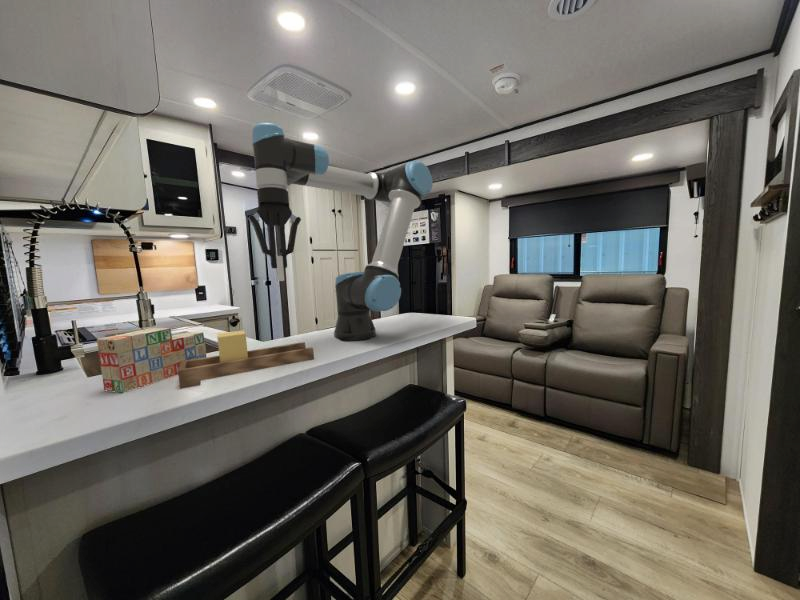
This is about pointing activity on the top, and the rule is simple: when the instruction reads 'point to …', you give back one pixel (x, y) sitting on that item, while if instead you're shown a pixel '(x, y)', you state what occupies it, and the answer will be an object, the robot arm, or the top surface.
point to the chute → (241, 363)
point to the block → (232, 346)
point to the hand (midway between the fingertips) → (280, 280)
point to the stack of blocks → (146, 356)
